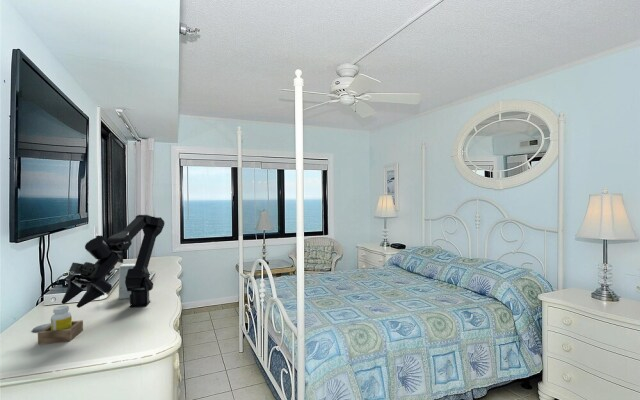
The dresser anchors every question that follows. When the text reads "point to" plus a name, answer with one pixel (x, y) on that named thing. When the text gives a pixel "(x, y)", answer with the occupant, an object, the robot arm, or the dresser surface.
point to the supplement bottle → (61, 318)
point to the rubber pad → (40, 327)
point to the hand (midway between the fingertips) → (69, 305)
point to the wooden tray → (60, 333)
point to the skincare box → (122, 274)
